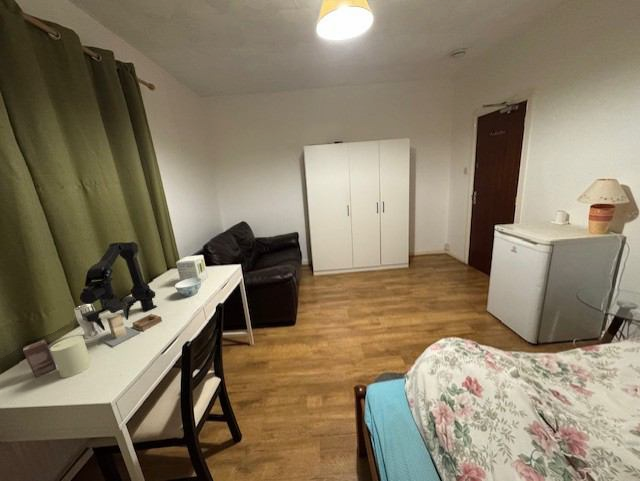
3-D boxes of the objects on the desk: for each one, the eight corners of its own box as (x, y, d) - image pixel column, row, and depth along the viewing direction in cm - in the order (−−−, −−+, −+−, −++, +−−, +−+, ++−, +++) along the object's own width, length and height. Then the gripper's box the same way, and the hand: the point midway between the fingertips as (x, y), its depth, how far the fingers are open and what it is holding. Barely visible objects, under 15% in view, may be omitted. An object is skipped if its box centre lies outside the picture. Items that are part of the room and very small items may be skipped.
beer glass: (81, 341, 118) (70, 312, 115) (86, 333, 124) (76, 306, 121) (100, 335, 121) (90, 307, 118) (104, 328, 127) (95, 301, 124)
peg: (112, 336, 118) (106, 317, 116) (122, 332, 121) (116, 313, 119) (116, 338, 116) (110, 319, 114) (126, 333, 119) (120, 314, 117)
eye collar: (133, 327, 126) (132, 322, 125) (152, 318, 133) (151, 313, 133) (143, 331, 121) (141, 326, 121) (162, 321, 129) (160, 316, 128)
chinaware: (208, 288, 166) (206, 277, 164) (193, 299, 152) (191, 287, 150) (188, 288, 169) (185, 278, 167) (172, 299, 154) (169, 287, 153)
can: (67, 365, 101) (57, 339, 98) (96, 357, 105) (87, 331, 102) (55, 381, 93) (43, 353, 90) (86, 371, 96) (76, 344, 94)
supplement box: (199, 284, 174) (194, 260, 170) (181, 286, 175) (175, 262, 171) (208, 277, 187) (203, 254, 183) (191, 278, 188) (185, 256, 184)
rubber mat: (99, 340, 118) (98, 338, 117) (125, 327, 127) (125, 326, 127) (113, 347, 111) (113, 345, 111) (140, 333, 120) (140, 331, 120)
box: (56, 364, 103) (45, 338, 100) (57, 369, 100) (46, 342, 97) (34, 373, 98) (22, 346, 96) (34, 378, 96) (22, 351, 93)
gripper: (87, 306, 102) (99, 340, 105) (137, 287, 117) (146, 317, 121) (76, 302, 107) (88, 334, 111) (126, 284, 123) (134, 313, 127)
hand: (116, 324), depth 117 cm, fingers open, 9 cm apart
